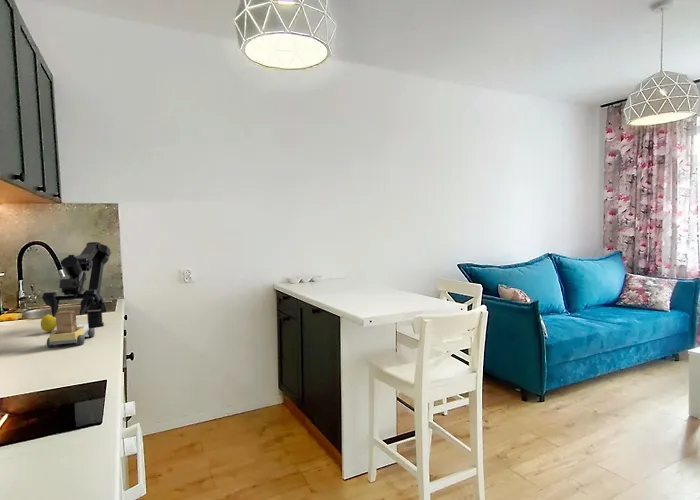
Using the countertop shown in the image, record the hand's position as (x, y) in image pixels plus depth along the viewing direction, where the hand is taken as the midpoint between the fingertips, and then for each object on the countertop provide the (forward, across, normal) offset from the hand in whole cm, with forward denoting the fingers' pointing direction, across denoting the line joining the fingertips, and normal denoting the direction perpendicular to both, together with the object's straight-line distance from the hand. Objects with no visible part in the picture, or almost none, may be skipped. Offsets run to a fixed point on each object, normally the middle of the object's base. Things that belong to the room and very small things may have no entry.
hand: (67, 315), depth 163 cm
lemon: (-8, -16, +25) cm, 30 cm away
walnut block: (+6, 0, +5) cm, 8 cm away
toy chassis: (+6, 0, +10) cm, 11 cm away
